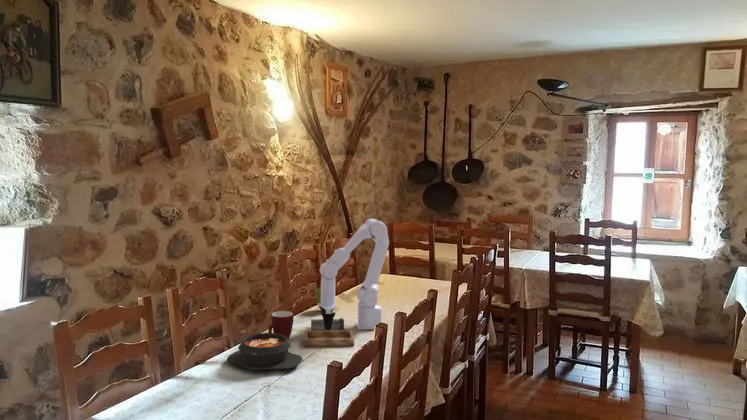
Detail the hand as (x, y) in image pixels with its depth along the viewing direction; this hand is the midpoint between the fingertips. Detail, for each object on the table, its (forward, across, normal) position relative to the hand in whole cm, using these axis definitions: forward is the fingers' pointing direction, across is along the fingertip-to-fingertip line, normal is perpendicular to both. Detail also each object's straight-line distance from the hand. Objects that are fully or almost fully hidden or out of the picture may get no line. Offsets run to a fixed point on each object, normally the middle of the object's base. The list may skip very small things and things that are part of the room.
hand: (327, 326), depth 213 cm
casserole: (+2, +34, -22) cm, 41 cm away
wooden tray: (+1, +14, 0) cm, 14 cm away
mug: (+2, +12, -18) cm, 22 cm away
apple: (+2, -26, 0) cm, 26 cm away
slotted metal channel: (+1, 0, 0) cm, 1 cm away
